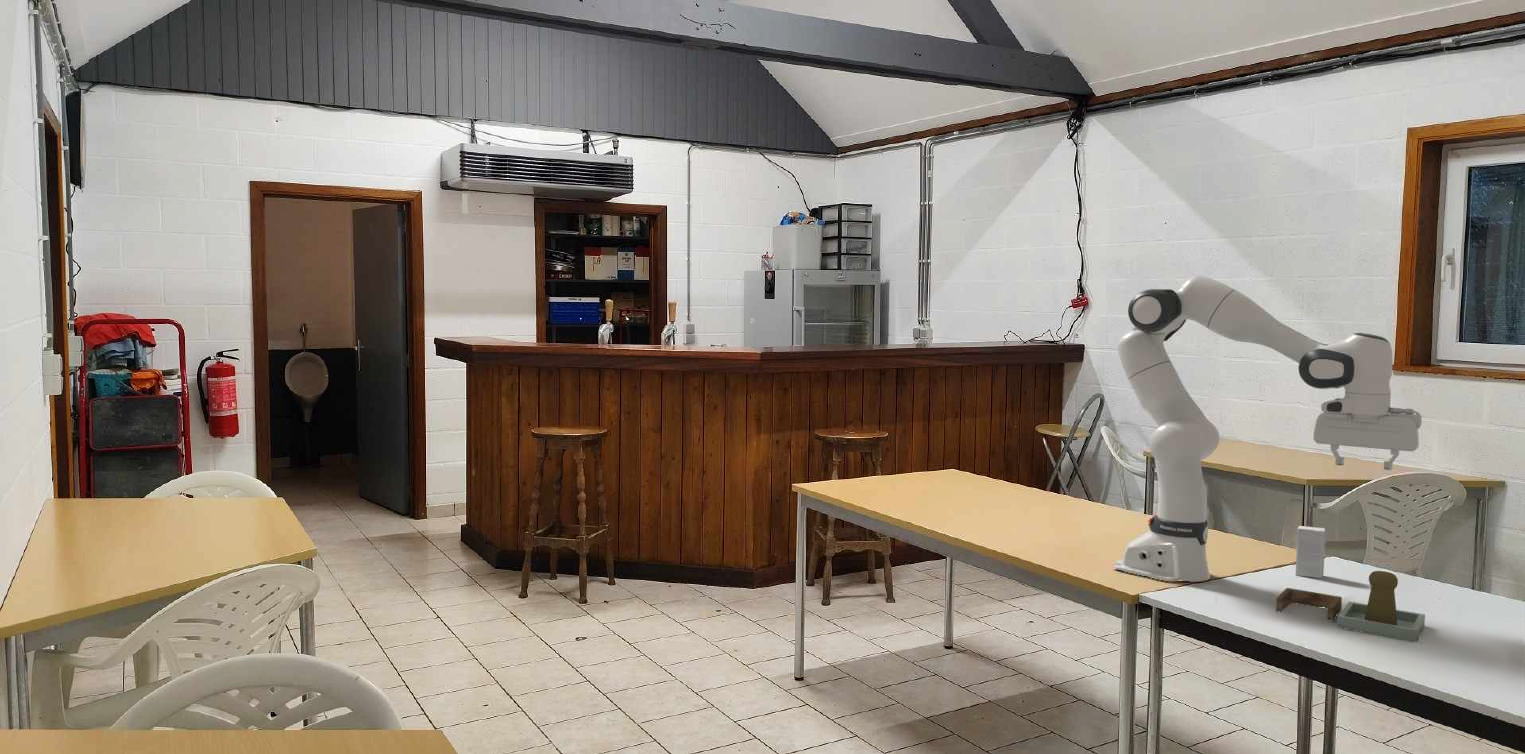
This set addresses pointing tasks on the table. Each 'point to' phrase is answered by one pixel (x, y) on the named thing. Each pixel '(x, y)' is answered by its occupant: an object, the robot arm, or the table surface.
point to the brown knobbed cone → (1382, 598)
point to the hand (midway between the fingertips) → (1363, 467)
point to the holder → (1310, 601)
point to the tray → (1406, 621)
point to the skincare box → (1310, 552)
